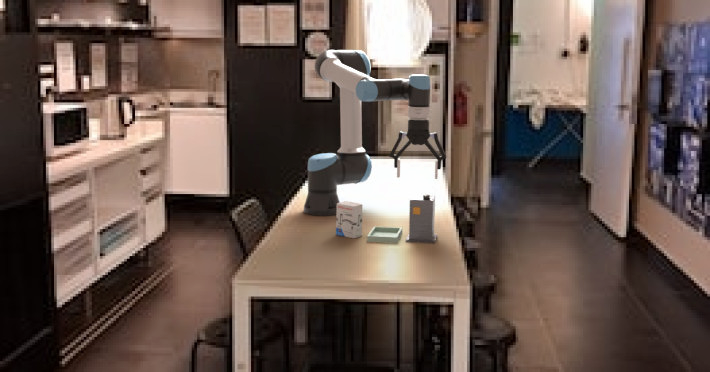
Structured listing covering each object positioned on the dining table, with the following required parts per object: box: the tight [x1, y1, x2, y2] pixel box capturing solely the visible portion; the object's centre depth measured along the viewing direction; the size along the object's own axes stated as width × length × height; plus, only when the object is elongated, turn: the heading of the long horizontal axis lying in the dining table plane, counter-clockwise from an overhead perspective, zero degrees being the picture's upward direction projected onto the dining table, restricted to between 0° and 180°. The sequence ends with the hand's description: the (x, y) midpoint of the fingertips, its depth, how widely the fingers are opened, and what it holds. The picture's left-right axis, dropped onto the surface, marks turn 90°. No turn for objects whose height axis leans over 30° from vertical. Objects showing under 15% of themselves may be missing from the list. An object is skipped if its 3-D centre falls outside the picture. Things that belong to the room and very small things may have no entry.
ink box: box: [335, 200, 363, 239], centre depth 279 cm, size 9×5×12 cm, turn 52°
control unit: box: [405, 194, 438, 244], centre depth 274 cm, size 10×10×16 cm
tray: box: [366, 225, 403, 244], centre depth 278 cm, size 10×14×2 cm
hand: (417, 177), depth 282 cm, fingers open, 13 cm apart
